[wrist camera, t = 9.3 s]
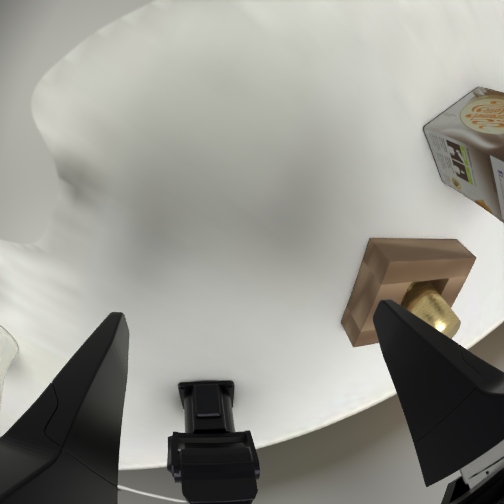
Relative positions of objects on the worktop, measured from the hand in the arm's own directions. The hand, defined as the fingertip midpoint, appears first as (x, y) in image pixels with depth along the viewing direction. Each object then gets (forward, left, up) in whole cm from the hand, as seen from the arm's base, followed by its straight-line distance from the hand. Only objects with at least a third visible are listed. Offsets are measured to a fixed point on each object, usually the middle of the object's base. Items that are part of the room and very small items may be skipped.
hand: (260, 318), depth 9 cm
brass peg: (-9, -18, -12) cm, 23 cm away
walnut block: (-9, -18, -12) cm, 23 cm away
